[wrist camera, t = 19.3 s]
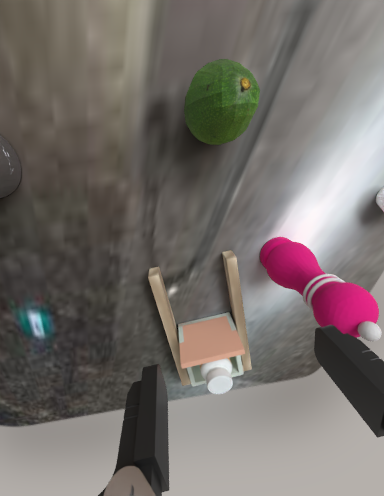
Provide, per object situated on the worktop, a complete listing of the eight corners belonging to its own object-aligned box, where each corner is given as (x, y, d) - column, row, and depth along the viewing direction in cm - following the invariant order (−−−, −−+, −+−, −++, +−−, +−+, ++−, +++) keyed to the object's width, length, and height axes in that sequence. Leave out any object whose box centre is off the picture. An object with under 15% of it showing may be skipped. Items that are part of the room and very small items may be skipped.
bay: (181, 372, 47) (182, 385, 44) (149, 268, 37) (148, 277, 34) (246, 357, 47) (251, 369, 44) (231, 250, 37) (236, 257, 35)
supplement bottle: (193, 331, 42) (200, 376, 33) (221, 325, 42) (235, 369, 33) (198, 352, 44) (205, 400, 35) (224, 346, 44) (238, 393, 35)
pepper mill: (303, 238, 38) (431, 310, 19) (287, 275, 40) (388, 370, 22) (265, 230, 37) (364, 298, 18) (251, 268, 39) (325, 363, 21)
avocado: (238, 145, 32) (277, 135, 20) (184, 149, 31) (193, 141, 20) (239, 77, 29) (284, 23, 18) (179, 81, 28) (186, 27, 17)
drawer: (189, 364, 46) (194, 409, 38) (178, 323, 42) (180, 364, 33) (236, 353, 46) (251, 396, 38) (229, 312, 42) (244, 349, 34)
